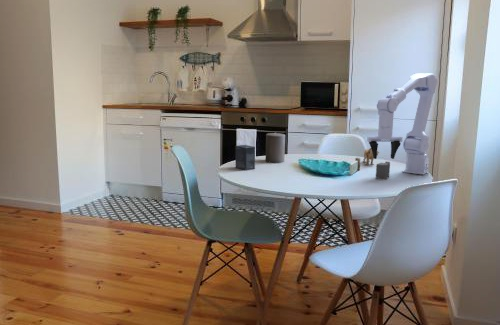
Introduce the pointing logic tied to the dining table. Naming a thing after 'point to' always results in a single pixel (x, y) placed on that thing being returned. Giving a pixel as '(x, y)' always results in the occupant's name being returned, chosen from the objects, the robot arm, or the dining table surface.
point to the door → (353, 167)
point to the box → (245, 157)
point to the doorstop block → (382, 170)
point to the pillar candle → (275, 147)
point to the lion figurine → (369, 156)
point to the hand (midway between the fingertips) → (383, 158)
